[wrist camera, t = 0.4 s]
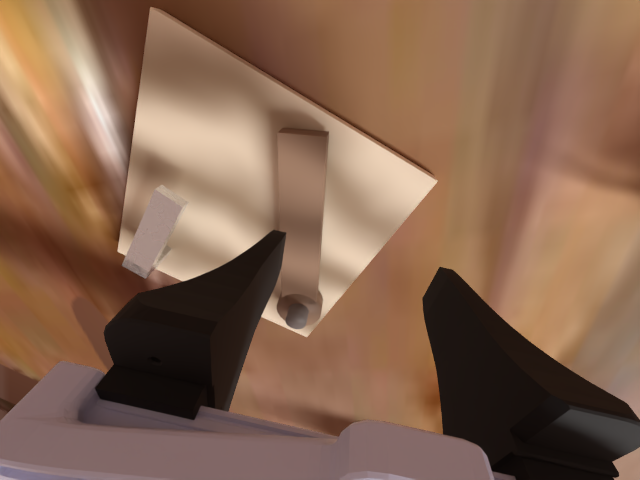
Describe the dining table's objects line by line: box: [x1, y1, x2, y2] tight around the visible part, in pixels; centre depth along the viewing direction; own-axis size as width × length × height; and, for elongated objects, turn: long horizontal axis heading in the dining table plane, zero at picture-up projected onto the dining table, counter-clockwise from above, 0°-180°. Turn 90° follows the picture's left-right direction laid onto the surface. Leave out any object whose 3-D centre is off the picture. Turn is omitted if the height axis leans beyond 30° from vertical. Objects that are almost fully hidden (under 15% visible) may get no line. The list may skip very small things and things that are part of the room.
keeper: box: [122, 185, 189, 279], centre depth 22 cm, size 8×2×3 cm, turn 143°
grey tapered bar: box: [277, 128, 329, 329], centre depth 22 cm, size 17×4×3 cm, turn 177°
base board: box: [118, 7, 437, 337], centre depth 23 cm, size 20×20×1 cm
